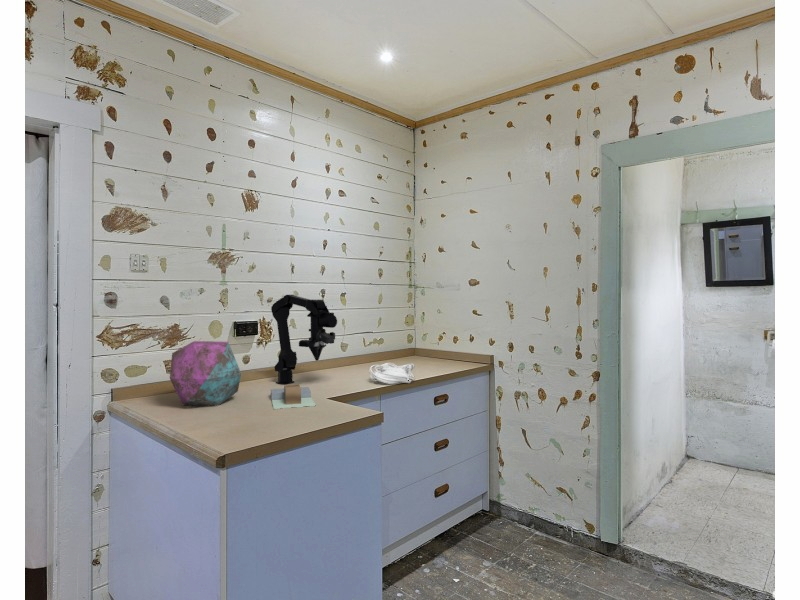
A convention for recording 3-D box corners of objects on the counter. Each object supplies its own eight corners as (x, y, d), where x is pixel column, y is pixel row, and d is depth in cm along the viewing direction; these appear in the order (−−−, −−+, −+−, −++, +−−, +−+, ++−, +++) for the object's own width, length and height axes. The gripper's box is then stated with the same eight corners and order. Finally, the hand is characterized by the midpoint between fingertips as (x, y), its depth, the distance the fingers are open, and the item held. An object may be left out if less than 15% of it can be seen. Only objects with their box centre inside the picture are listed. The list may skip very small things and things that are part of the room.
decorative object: (137, 399, 185) (174, 347, 209) (206, 436, 195) (233, 382, 219) (169, 360, 170) (205, 308, 194) (242, 402, 180) (267, 348, 204)
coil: (398, 376, 256) (397, 358, 256) (426, 382, 237) (426, 363, 237) (358, 382, 242) (357, 363, 242) (385, 389, 222) (384, 368, 222)
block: (284, 385, 198) (285, 389, 189) (298, 384, 200) (301, 388, 191) (284, 399, 198) (285, 404, 189) (299, 398, 200) (301, 403, 191)
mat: (271, 401, 197) (271, 400, 197) (311, 398, 202) (311, 397, 202) (273, 409, 184) (273, 408, 184) (315, 406, 189) (315, 405, 189)
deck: (270, 396, 206) (270, 389, 206) (308, 393, 211) (308, 386, 211) (271, 400, 198) (271, 393, 198) (310, 398, 203) (310, 391, 203)
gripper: (317, 329, 209) (317, 364, 210) (343, 326, 225) (343, 359, 226) (297, 328, 215) (298, 362, 215) (324, 325, 231) (324, 357, 231)
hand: (317, 360), depth 222 cm, fingers closed
